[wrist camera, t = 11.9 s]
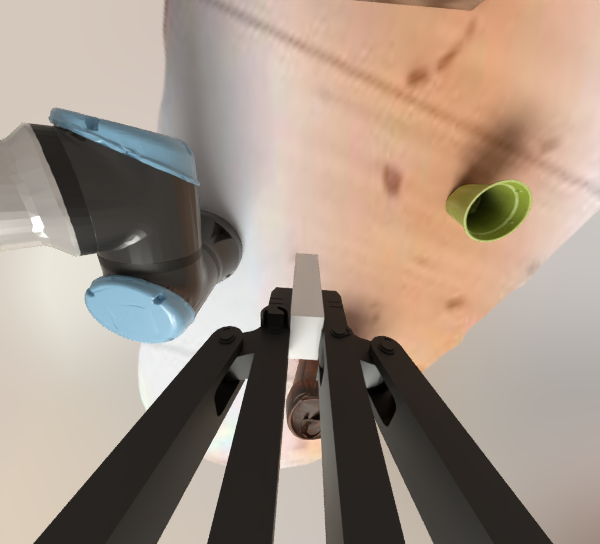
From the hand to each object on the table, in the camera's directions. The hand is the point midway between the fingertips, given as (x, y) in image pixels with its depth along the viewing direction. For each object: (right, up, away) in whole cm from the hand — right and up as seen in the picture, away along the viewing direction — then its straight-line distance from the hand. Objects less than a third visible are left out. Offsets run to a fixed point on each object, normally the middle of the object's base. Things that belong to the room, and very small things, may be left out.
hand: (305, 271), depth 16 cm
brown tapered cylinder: (+6, -25, +48) cm, 54 cm away
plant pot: (+30, +13, +26) cm, 41 cm away
